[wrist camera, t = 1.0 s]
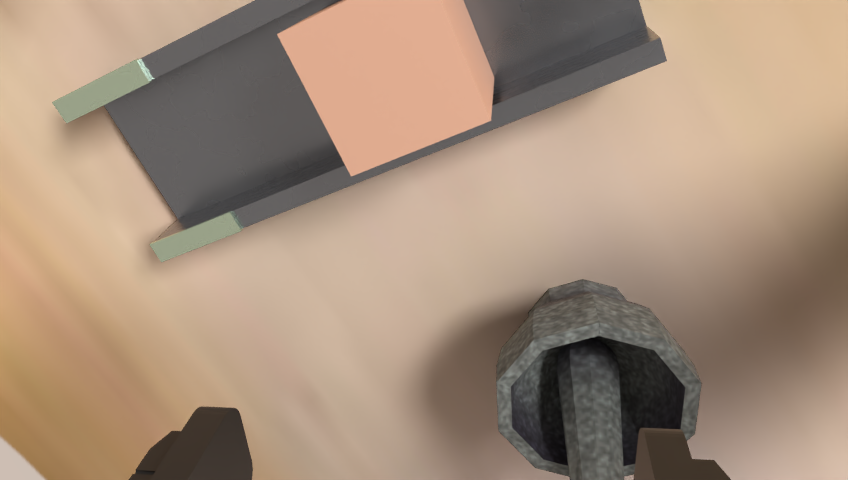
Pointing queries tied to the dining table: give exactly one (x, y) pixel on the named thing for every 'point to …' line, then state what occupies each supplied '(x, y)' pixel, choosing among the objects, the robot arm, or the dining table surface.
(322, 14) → the terracotta block
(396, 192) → the dining table surface
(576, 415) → the mortar and pestle
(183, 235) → the chute
